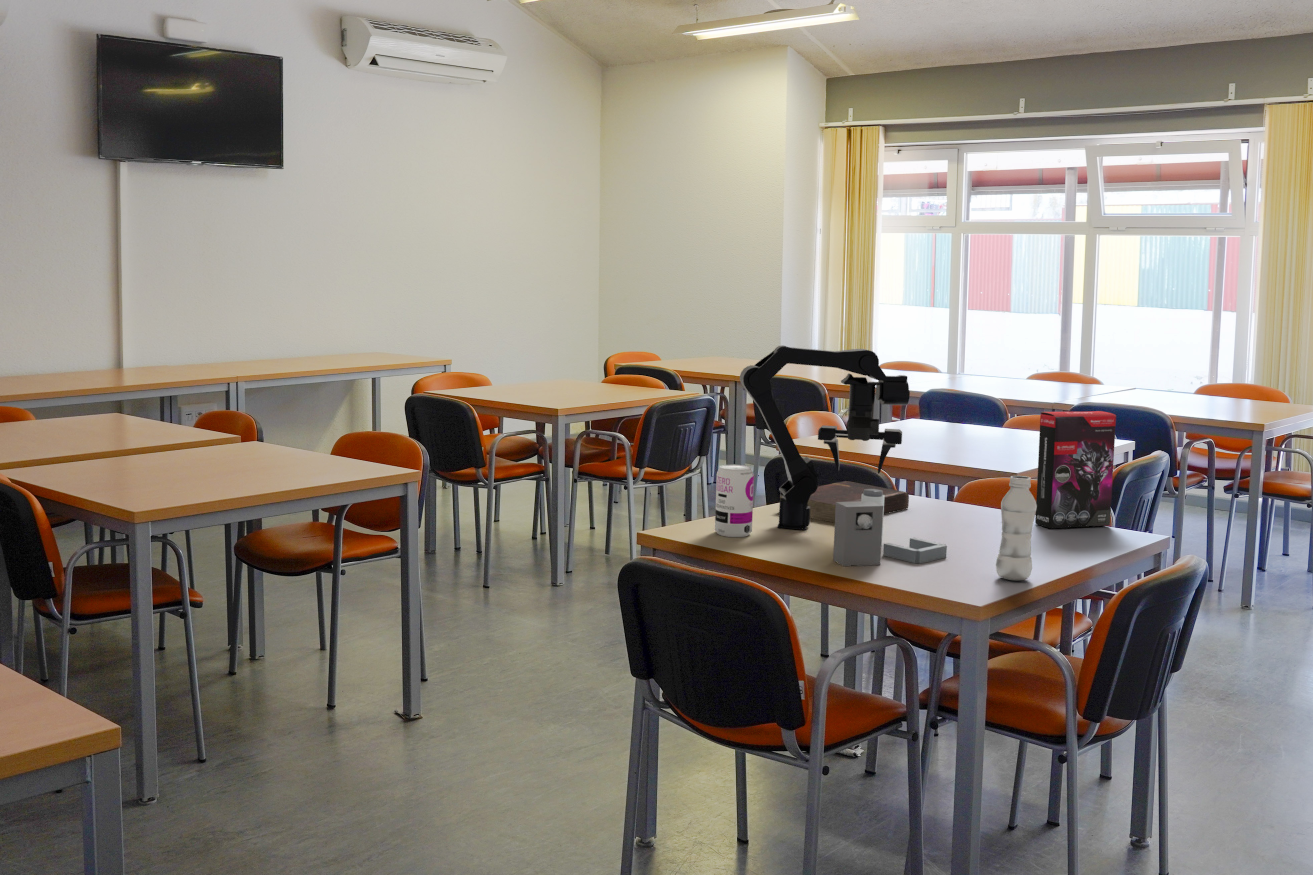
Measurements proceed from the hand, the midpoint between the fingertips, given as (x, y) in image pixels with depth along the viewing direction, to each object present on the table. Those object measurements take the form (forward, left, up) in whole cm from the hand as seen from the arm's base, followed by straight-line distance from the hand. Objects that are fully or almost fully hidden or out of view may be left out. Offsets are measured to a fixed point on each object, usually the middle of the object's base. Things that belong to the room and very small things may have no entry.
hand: (858, 472), depth 261 cm
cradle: (+13, -24, -13) cm, 30 cm away
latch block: (+2, -34, -13) cm, 36 cm away
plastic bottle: (+32, -38, -13) cm, 51 cm away
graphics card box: (+50, +20, -13) cm, 55 cm away
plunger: (+2, -33, -6) cm, 34 cm away
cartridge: (+4, -18, -13) cm, 22 cm away
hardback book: (-4, +20, -14) cm, 25 cm away
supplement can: (-26, -16, -13) cm, 33 cm away
